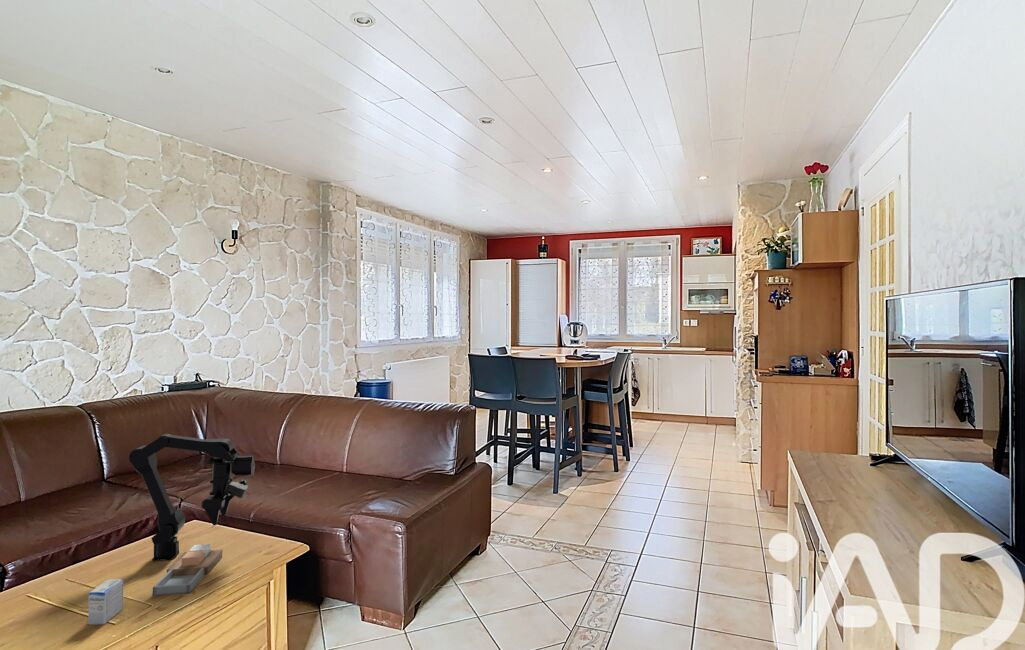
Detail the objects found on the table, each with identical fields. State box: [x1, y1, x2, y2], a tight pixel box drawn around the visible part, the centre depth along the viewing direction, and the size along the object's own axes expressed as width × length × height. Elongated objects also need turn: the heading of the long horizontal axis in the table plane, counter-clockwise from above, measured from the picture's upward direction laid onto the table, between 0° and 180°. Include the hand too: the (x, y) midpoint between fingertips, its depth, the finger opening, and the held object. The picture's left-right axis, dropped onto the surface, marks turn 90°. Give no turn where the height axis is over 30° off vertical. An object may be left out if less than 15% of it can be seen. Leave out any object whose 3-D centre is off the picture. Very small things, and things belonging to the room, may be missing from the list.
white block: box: [188, 543, 211, 558], centre depth 187 cm, size 5×5×2 cm
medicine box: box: [87, 578, 124, 626], centre depth 152 cm, size 8×4×9 cm, turn 5°
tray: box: [152, 568, 205, 596], centre depth 171 cm, size 10×12×2 cm
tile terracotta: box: [182, 551, 204, 566], centre depth 182 cm, size 5×5×2 cm
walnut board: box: [166, 549, 223, 576], centre depth 184 cm, size 12×14×2 cm
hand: (219, 520), depth 195 cm, fingers open, 9 cm apart
